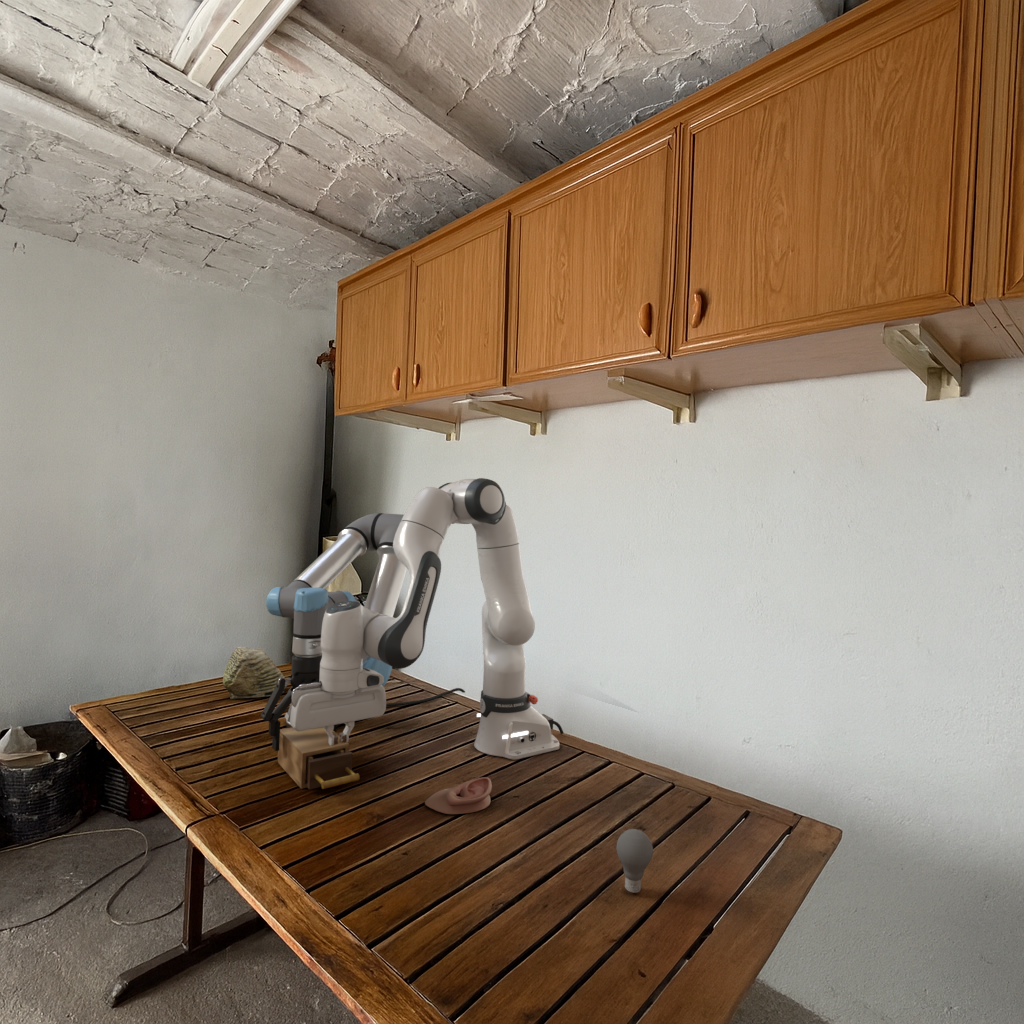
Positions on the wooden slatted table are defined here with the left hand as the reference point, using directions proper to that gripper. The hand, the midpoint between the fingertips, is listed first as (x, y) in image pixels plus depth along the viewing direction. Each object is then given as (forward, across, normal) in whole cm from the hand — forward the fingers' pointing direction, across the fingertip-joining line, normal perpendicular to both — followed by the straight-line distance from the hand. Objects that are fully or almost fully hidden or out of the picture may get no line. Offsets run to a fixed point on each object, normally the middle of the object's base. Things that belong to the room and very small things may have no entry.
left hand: (304, 743), depth 150 cm
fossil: (+4, +4, +57) cm, 58 cm away
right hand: (-6, 0, -19) cm, 20 cm away
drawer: (+4, 0, -11) cm, 12 cm away
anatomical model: (+5, +20, -36) cm, 42 cm away
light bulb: (+5, +28, -78) cm, 83 cm away
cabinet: (+5, 0, -4) cm, 7 cm away
